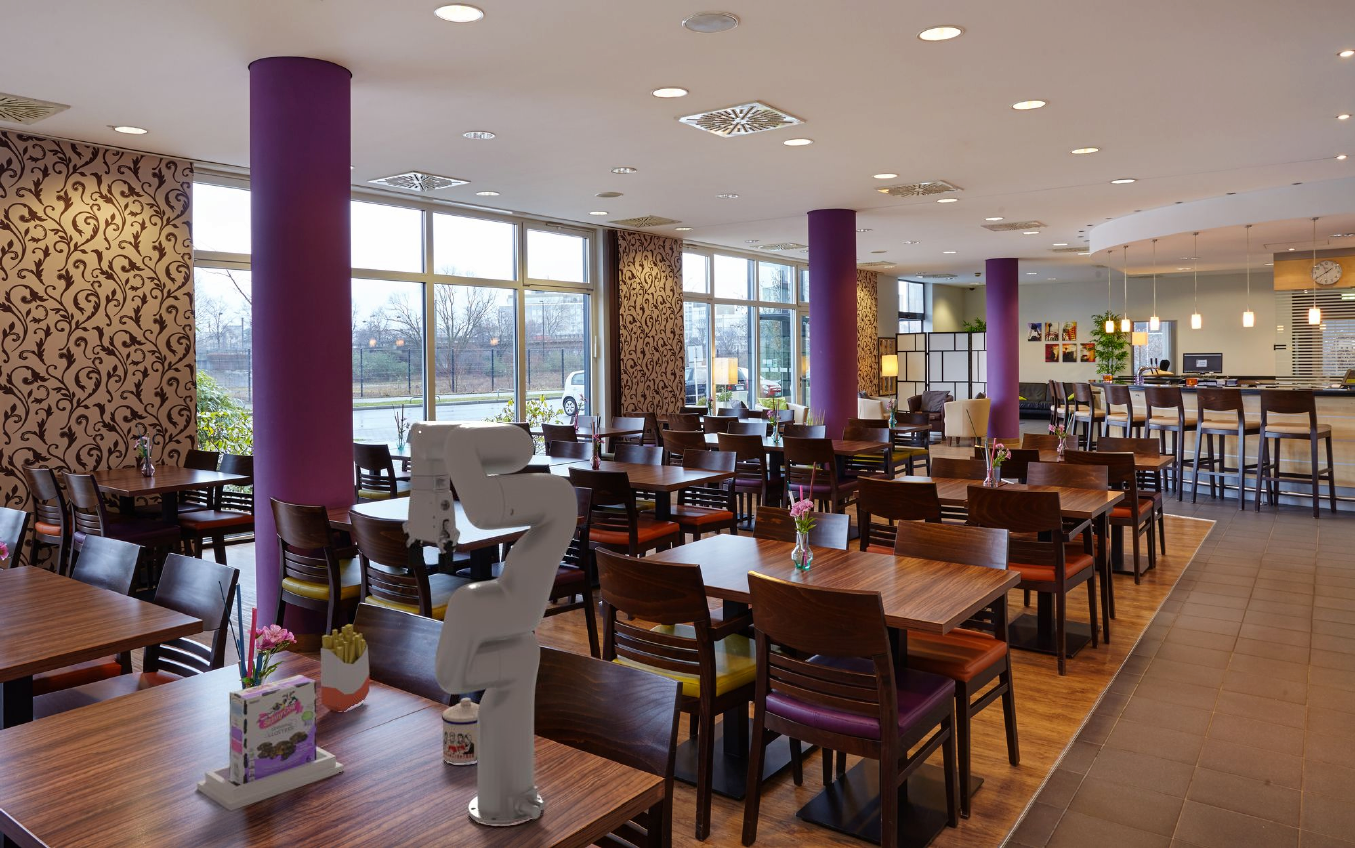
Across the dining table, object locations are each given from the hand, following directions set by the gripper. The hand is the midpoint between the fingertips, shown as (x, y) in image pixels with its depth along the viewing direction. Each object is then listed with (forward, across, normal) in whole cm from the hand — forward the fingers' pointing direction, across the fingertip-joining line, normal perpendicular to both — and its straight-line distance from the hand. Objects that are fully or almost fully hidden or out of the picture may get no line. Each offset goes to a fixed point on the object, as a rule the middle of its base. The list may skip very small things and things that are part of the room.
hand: (430, 569), depth 181 cm
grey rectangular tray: (+36, +10, +28) cm, 47 cm away
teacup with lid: (+36, -10, -2) cm, 38 cm away
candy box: (+35, +10, +27) cm, 46 cm away
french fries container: (+36, +34, -2) cm, 50 cm away
